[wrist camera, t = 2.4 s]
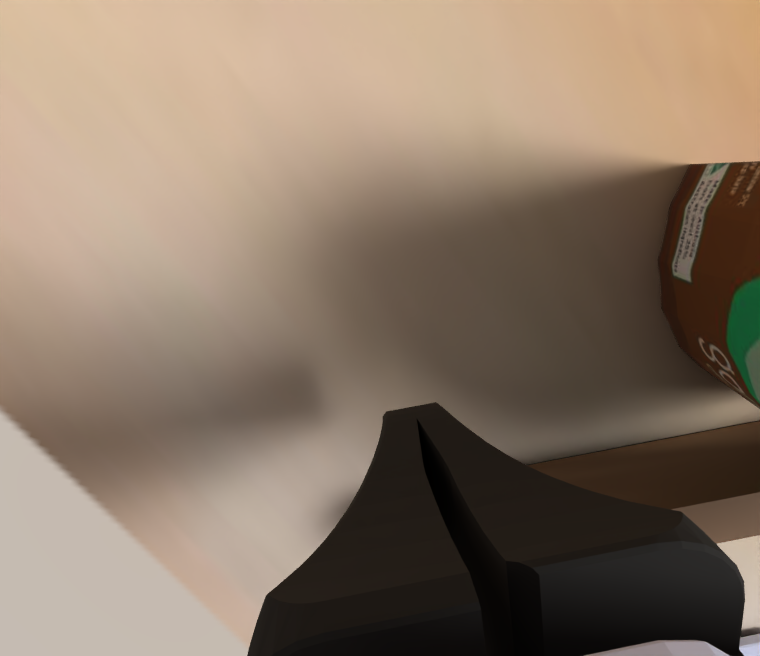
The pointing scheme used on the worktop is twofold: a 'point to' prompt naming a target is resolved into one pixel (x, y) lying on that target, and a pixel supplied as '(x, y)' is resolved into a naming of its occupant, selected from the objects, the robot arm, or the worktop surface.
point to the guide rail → (680, 477)
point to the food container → (716, 272)
